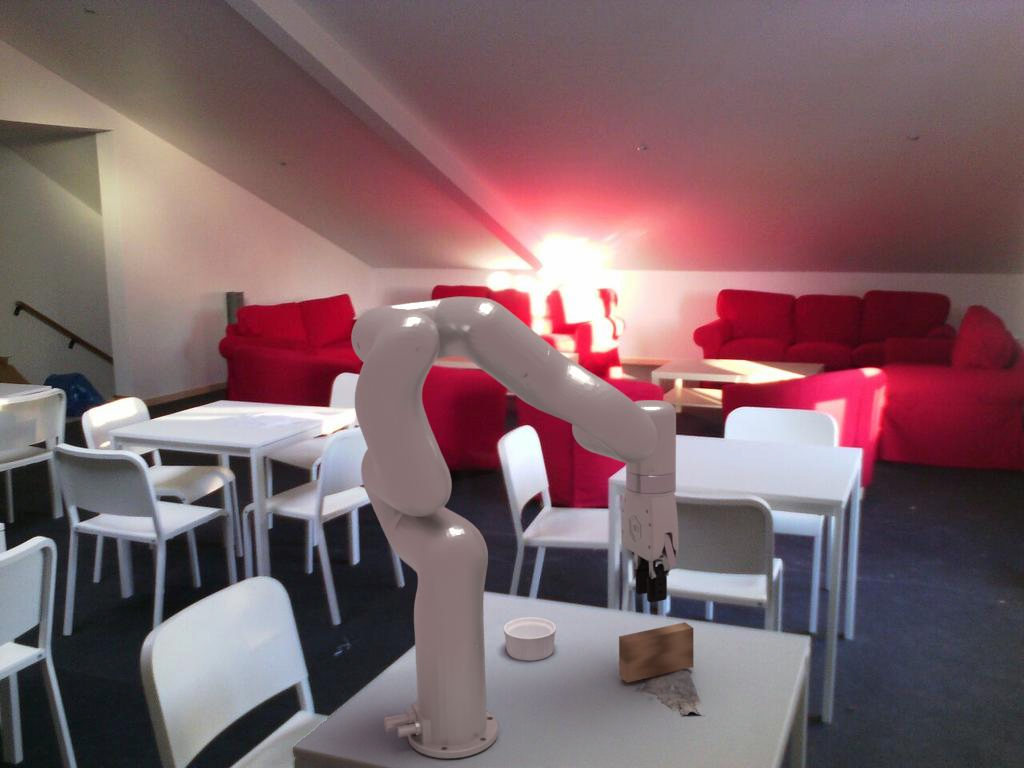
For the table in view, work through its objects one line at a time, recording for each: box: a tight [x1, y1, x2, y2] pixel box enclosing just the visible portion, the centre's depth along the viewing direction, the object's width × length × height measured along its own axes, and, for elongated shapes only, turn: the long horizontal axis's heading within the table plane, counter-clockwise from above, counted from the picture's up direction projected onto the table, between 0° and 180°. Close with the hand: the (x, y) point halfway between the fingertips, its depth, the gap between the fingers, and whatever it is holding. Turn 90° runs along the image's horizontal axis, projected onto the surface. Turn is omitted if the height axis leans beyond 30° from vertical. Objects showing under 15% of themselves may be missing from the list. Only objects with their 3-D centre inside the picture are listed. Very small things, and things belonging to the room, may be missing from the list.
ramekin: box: [503, 616, 557, 662], centre depth 148 cm, size 9×9×4 cm
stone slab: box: [634, 668, 706, 717], centre depth 135 cm, size 18×2×10 cm
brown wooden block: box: [618, 622, 695, 683], centre depth 138 cm, size 12×3×6 cm, turn 112°
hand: (651, 595), depth 137 cm, fingers open, 2 cm apart
